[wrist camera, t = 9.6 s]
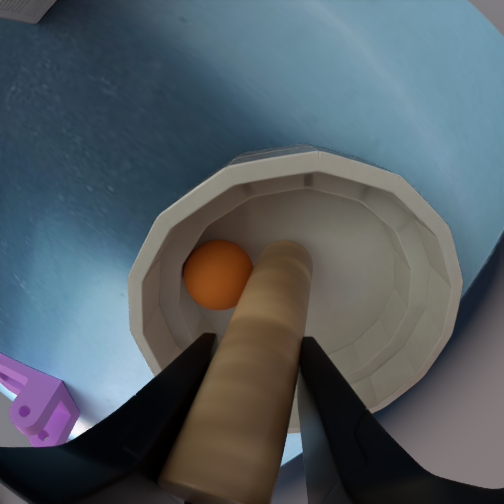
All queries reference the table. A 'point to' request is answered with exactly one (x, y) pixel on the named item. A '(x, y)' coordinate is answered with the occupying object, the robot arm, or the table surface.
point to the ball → (217, 274)
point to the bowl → (324, 264)
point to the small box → (25, 9)
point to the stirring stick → (246, 390)
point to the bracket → (38, 403)
